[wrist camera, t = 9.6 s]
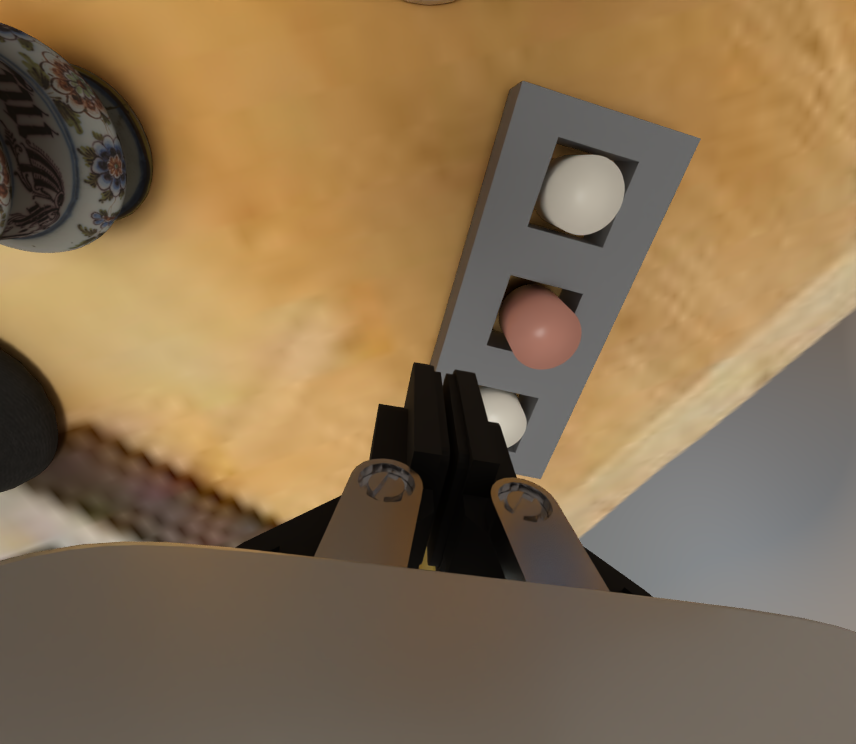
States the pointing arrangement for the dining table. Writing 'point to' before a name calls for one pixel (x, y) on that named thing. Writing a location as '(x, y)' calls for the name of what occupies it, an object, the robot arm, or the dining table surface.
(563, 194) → the near knob
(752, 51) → the dining table surface
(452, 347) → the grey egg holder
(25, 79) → the apothecary jar
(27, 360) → the dining table surface
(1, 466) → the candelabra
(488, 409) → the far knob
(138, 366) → the dining table surface
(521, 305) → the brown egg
